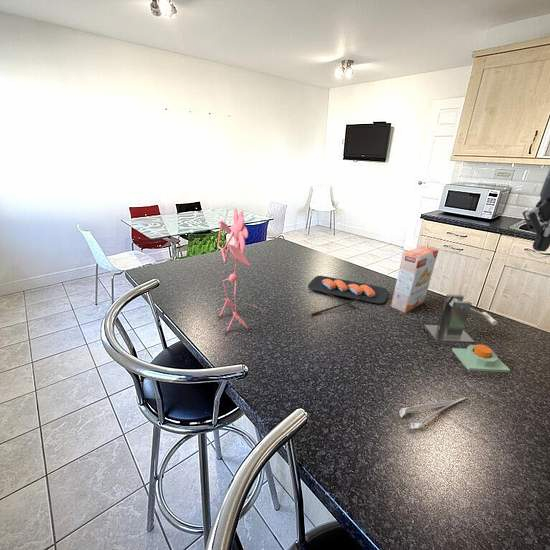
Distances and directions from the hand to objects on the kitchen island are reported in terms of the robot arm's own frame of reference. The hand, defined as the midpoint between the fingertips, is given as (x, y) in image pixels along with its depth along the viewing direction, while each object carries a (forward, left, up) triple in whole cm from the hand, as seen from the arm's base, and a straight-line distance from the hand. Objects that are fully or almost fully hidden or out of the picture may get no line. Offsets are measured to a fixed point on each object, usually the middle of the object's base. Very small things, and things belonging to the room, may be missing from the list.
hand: (539, 250), depth 72 cm
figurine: (+75, -9, -29) cm, 81 cm away
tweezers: (+29, +24, -29) cm, 48 cm away
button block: (+11, +8, -29) cm, 32 cm away
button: (+11, +8, -26) cm, 29 cm away
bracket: (+13, -4, -29) cm, 32 cm away
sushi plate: (+41, -24, -29) cm, 56 cm away
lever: (+9, -4, -21) cm, 23 cm away
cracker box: (+18, -22, -29) cm, 41 cm away
